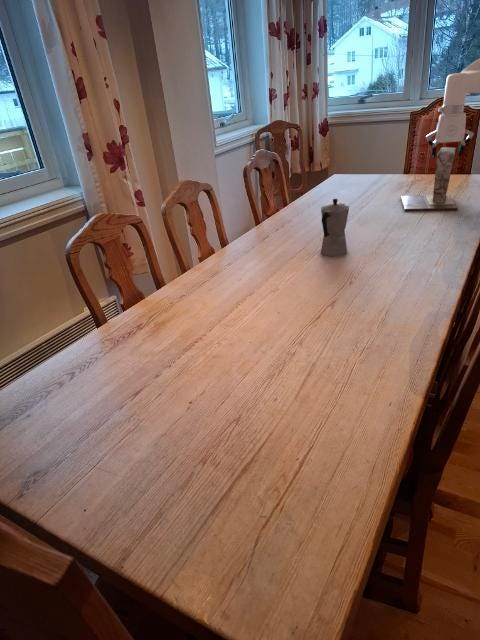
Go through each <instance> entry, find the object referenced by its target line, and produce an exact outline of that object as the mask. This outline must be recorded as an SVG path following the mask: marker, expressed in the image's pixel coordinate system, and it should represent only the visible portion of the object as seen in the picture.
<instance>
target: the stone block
mask: <svg viewBox="0 0 480 640" xmlns="http://www.w3.org/2000/svg"><path fill="white" fill-rule="evenodd" d="M456 150H457V148H456V147H447V146H443V147H441V148H440V149H439V151H438V152H437V153H436V162H435V173H434V184H433V192H432V193H433V194H432V195H433V202H437V203H445V201H446V196H447V195H446V194H448V188H449V184H450V180H451V173H452V169H453V165H454V162H455V161H454V160H455V155H456Z"/></svg>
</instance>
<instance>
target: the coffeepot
mask: <svg viewBox="0 0 480 640" xmlns="http://www.w3.org/2000/svg"><path fill="white" fill-rule="evenodd" d="M338 201H339V199H338V198H333V199H332V203H331V204H325V205H324V206H321V207H320V208H321V209H320V212H321V213H320V214H321V225H322V230H323V236H322V237H323V238H322V243H321V248H320V254H322V255H323V256H326V257H341V256H344V255H346V254H347V253H348V247H347V246H348V245H347V237H346V228H347V223H348V222H347V221H348V217H349V211H350V206H349V205H346V204H345V203H338Z"/></svg>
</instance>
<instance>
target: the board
mask: <svg viewBox="0 0 480 640" xmlns="http://www.w3.org/2000/svg"><path fill="white" fill-rule="evenodd" d="M446 195H447V196H446V201H445V203H437V202H433V194H423V195H422V194H420V195H419V194H417V195H414V194H413V195H400V201H401V205H402V207H403V211H404V212H446V211H447V212H449V211H451V212H453V211H455V212H456V211H459V210H458V209H459V208H458V206H457V205H456V203H455V201H454V200H453V198H452V197H451V195H450V194H449V193H446Z"/></svg>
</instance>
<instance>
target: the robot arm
mask: <svg viewBox="0 0 480 640" xmlns="http://www.w3.org/2000/svg"><path fill="white" fill-rule="evenodd" d="M467 94H480V58H478V59H476V60H474V61H473V62H472V63H471V64H469V65H467V67H465V68H464V69H463V70H461V71H460V72H455V73H450V74H449V75H447V77H446V81H445V86H444V95H443V104H442V106H441V107H438V110H437V111H438V112H439V113H440V114H439V116H438V121H437V123H436V129H435V130H434V131H432V132H430V133H429V134H427V135H426V136H425V139H426V141H427V143H428V144H429V145H430V146H431V150H430V151H431V152H430V155H431V157H432V158H433V159H436V157H437V145H438V144H439V143H441V144H442V143H456V142H457V143H458V142H459V145H458V150H457V151H458V152H457V156H458V157H462V155H463V154H464V150H465V146H466V145H467V144H468V143H469V142H470V141H471V139H472V138H473V137H474V135H475V132H473V131H470V130H468V129H466V123H467V115H466V114H467V113H466V112H464V111H465V105H466V97H467ZM465 135H467V137H465ZM433 137H434V141H433V140H432V139H431V138H433Z"/></svg>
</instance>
